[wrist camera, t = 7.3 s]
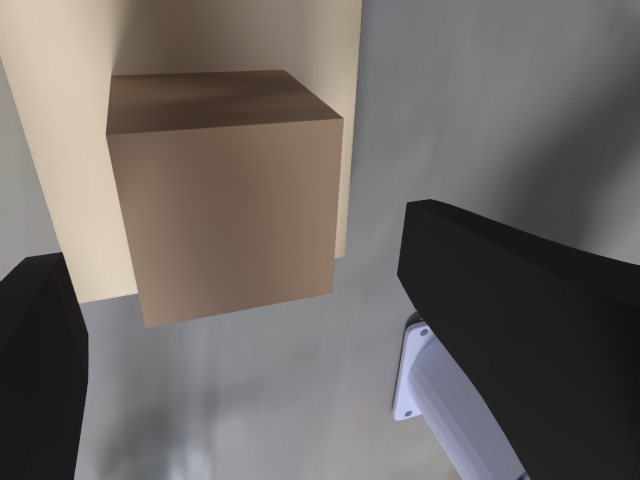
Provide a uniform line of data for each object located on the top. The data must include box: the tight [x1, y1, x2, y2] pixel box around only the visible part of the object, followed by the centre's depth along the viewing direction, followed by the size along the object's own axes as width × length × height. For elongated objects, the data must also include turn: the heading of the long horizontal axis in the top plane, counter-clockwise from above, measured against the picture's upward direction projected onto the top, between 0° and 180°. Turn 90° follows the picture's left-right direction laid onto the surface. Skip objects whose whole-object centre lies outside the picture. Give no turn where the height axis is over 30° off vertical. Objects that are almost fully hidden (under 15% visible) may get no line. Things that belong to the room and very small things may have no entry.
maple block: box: [0, 0, 362, 303], centre depth 16 cm, size 10×10×3 cm
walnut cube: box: [106, 70, 344, 328], centre depth 13 cm, size 5×5×5 cm
